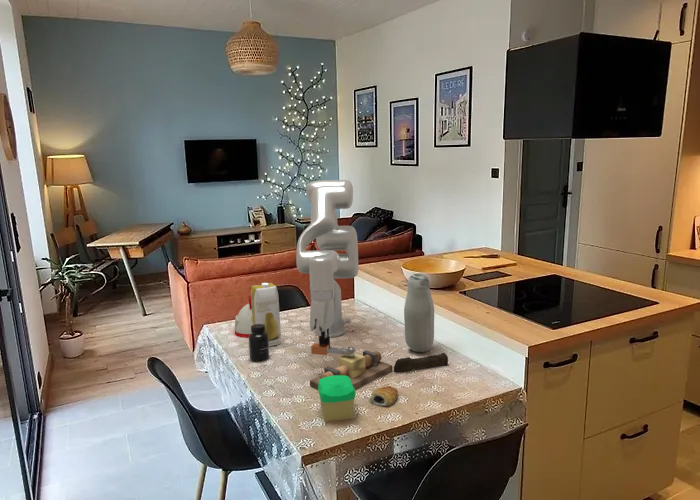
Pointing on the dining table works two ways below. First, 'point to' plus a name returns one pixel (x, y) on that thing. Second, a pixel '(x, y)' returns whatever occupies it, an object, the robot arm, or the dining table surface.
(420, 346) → the grey bottle
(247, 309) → the white and red dome
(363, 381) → the pipe board
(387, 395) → the pastry
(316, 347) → the valve lever
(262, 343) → the supplement bottle
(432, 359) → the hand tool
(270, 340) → the juice carton
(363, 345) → the dining table surface
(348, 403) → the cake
